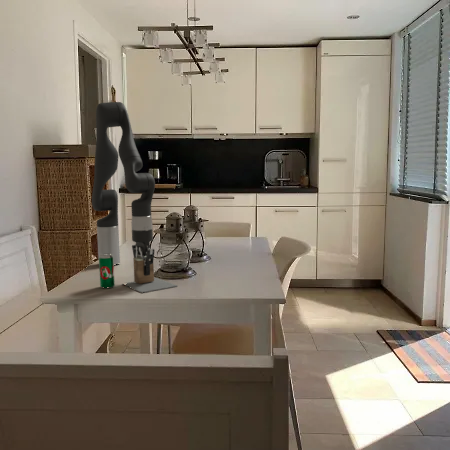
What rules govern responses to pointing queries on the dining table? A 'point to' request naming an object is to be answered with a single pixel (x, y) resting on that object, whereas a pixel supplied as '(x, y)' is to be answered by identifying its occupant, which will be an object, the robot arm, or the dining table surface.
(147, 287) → the mat
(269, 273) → the dining table surface
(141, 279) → the block
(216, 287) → the dining table surface
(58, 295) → the dining table surface
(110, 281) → the soda can
